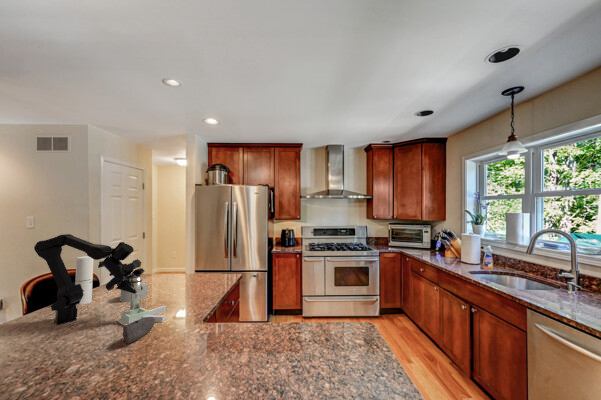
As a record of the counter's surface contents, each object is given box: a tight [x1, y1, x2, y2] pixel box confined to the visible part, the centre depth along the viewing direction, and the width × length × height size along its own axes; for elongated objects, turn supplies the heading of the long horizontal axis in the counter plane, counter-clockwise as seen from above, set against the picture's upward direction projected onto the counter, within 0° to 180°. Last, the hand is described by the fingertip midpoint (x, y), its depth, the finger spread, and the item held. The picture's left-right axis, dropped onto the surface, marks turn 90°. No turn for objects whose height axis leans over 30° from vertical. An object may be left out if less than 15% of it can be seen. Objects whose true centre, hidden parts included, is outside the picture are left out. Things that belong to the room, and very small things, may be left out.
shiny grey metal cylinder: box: [129, 275, 143, 311], centre depth 112 cm, size 4×4×14 cm
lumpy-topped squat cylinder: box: [120, 281, 149, 303], centre depth 140 cm, size 10×13×9 cm
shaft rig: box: [117, 305, 168, 327], centre depth 113 cm, size 19×18×4 cm
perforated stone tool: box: [122, 317, 156, 344], centre depth 96 cm, size 15×5×7 cm, turn 168°
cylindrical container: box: [74, 255, 94, 306], centre depth 134 cm, size 7×7×25 cm
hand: (138, 291), depth 112 cm, fingers closed on shiny grey metal cylinder, 4 cm apart
